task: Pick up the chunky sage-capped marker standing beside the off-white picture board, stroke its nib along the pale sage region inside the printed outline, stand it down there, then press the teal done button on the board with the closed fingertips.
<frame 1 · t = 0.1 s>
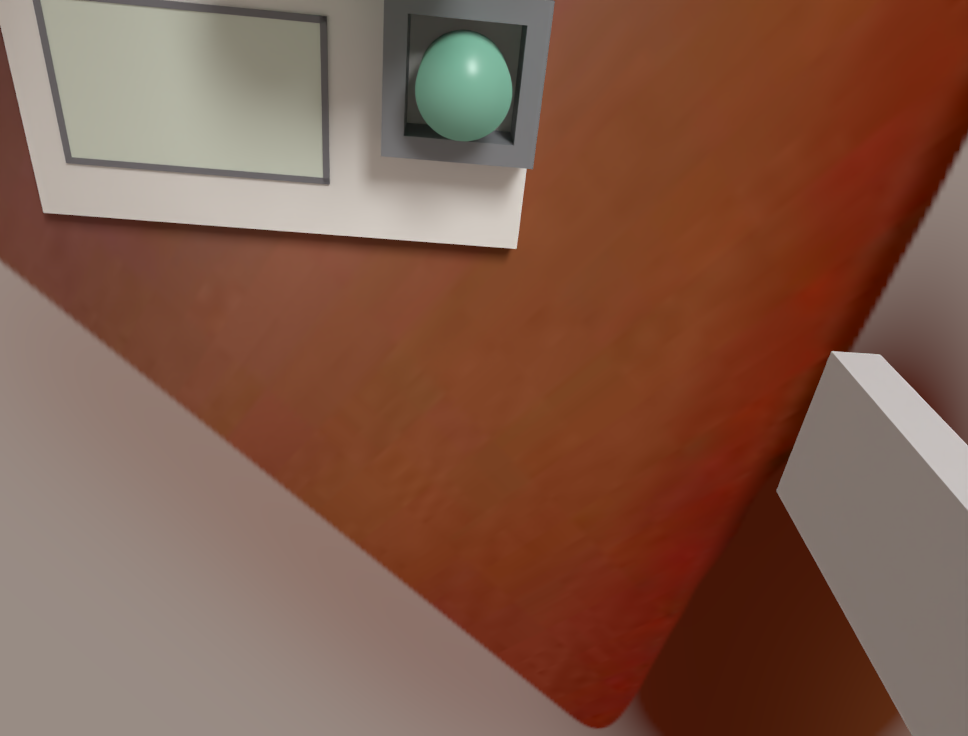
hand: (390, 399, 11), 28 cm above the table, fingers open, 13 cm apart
button: (463, 85, 31), point 4 cm above the table, slide at 0.0 cm
board: (281, 51, 34), on the table
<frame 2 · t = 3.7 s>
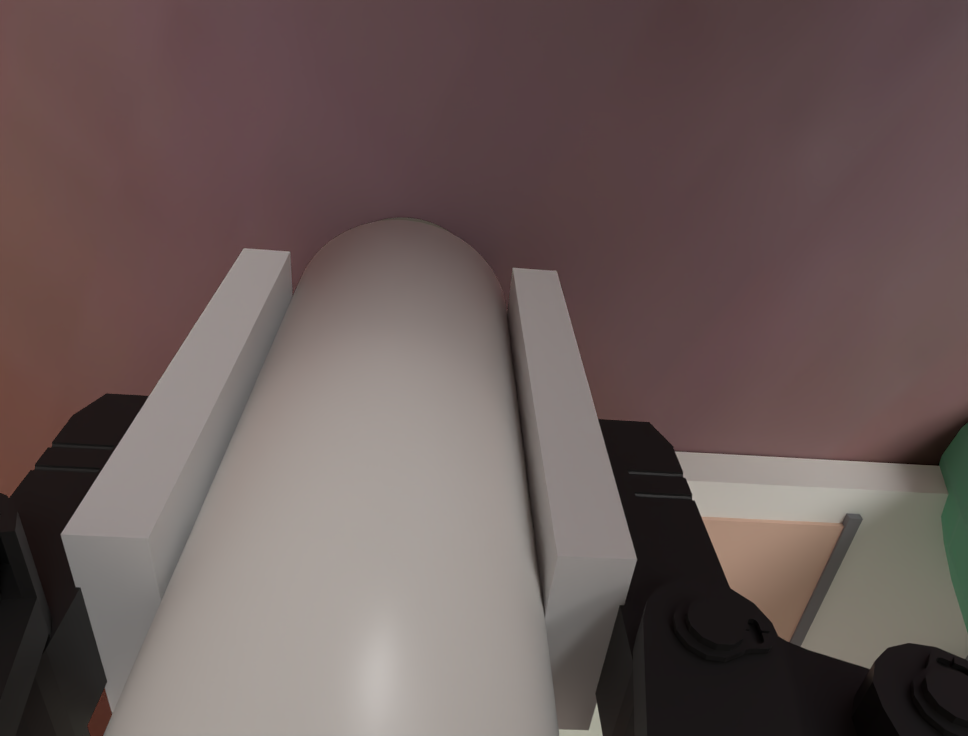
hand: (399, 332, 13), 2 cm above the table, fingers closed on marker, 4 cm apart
marker: (405, 291, 14), on the table, touching gripper
board: (736, 689, 21), on the table
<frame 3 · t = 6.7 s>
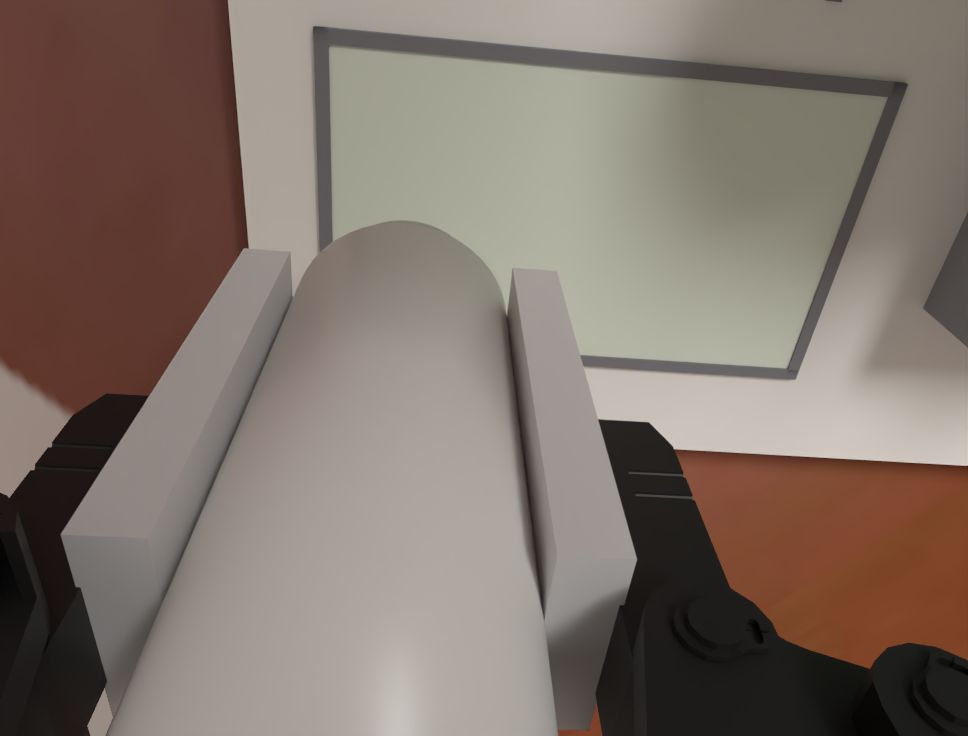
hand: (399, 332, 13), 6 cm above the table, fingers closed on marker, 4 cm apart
marker: (405, 294, 14), point 5 cm above the table, touching gripper
board: (761, 144, 17), on the table
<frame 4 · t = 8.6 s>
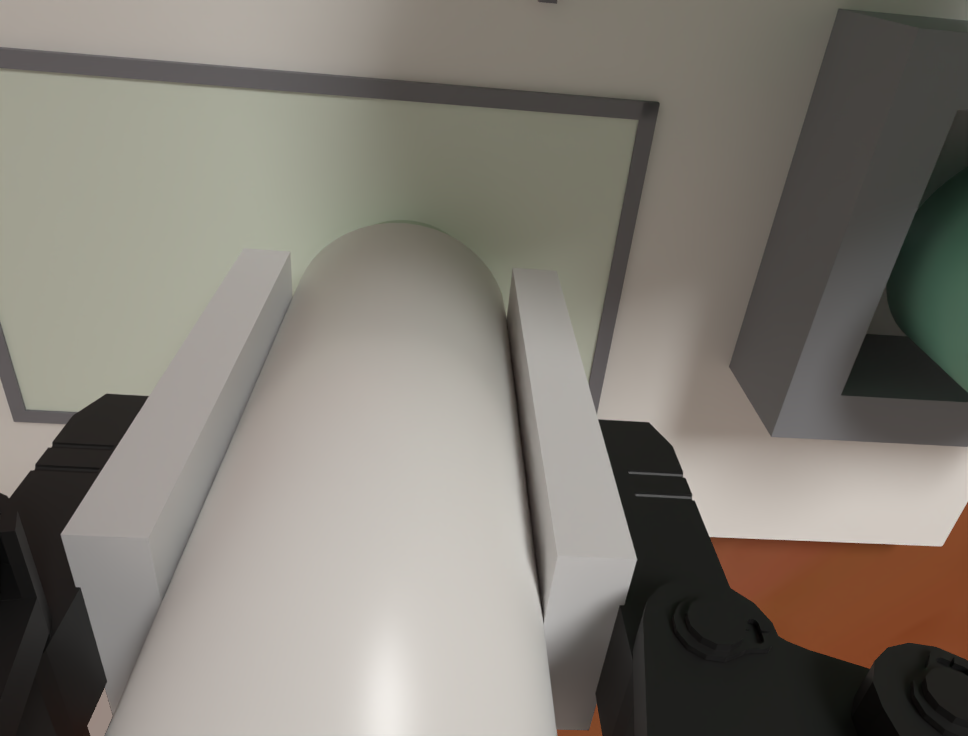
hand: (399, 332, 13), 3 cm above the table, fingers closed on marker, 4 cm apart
marker: (404, 294, 14), point 1 cm above the table, touching gripper
board: (513, 175, 14), on the table
when the fingers open (3 cm above the table, at t = 10.0 s): marker stays where it is, resting on board.
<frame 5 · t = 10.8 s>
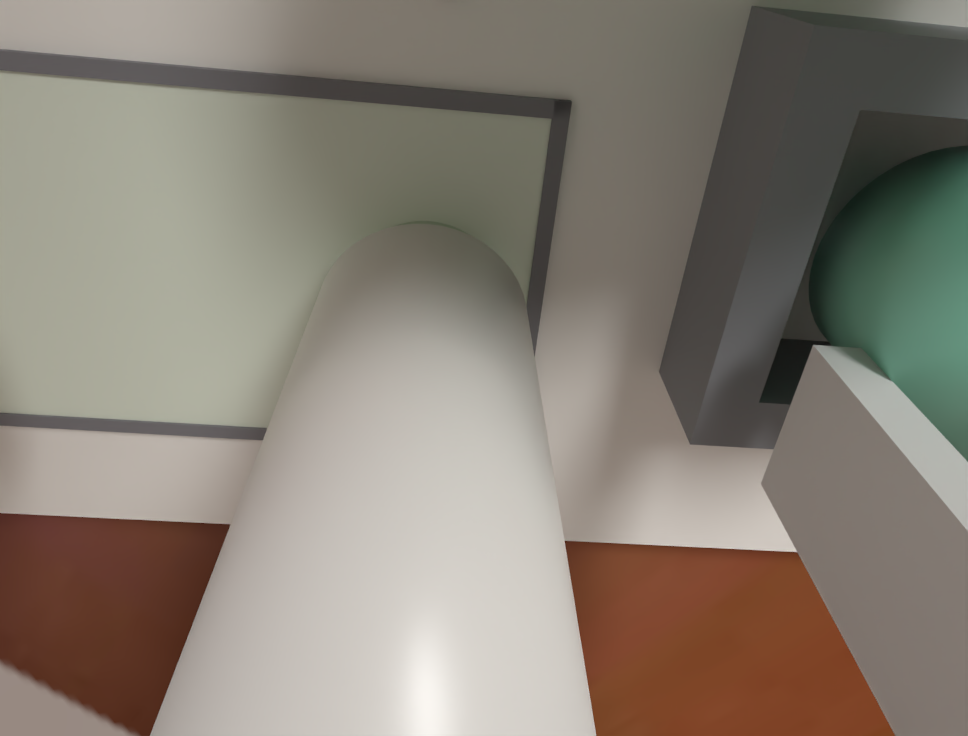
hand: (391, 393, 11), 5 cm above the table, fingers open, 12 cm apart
marker: (425, 294, 14), point 1 cm above the table, touching board
board: (433, 175, 14), on the table
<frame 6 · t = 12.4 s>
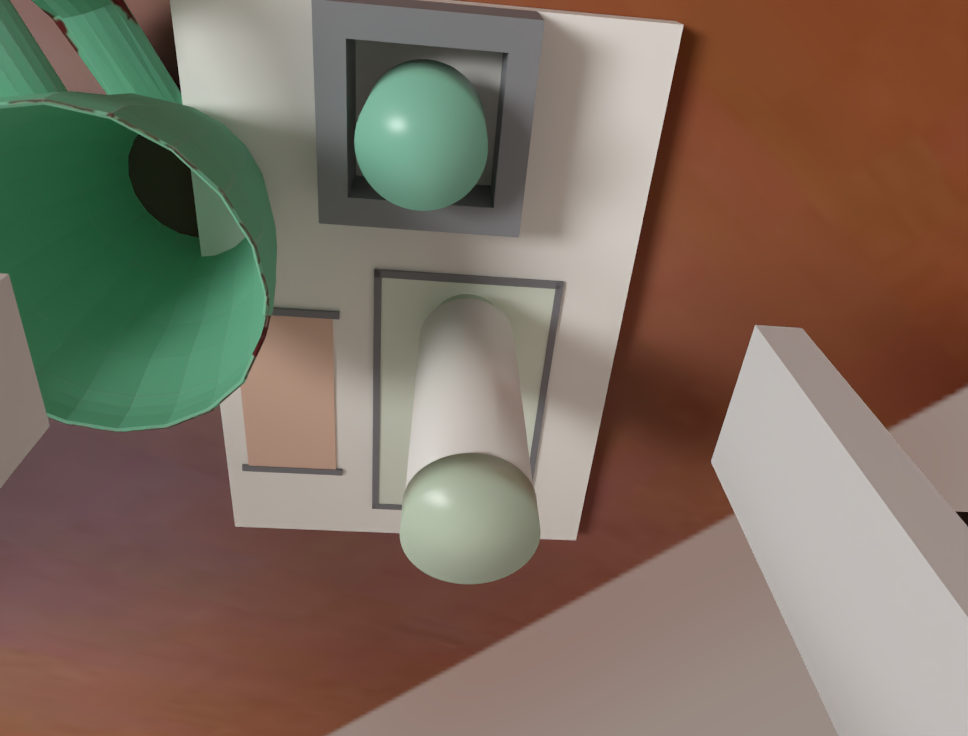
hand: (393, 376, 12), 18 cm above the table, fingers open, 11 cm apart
mug: (168, 112, 27), on the table, touching board
marker: (466, 326, 30), point 1 cm above the table, touching board
button: (423, 134, 23), point 4 cm above the table, slide at -0.2 cm
board: (418, 311, 31), on the table
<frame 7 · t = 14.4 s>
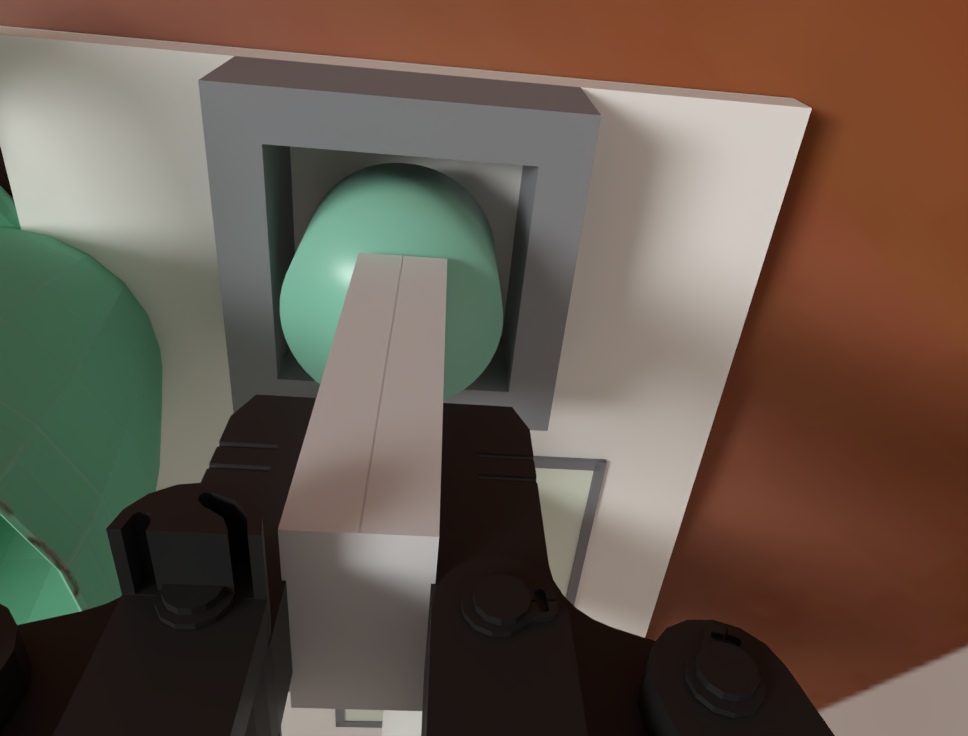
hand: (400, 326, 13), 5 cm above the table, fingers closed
mug: (12, 225, 18), on the table, touching board
marker: (464, 517, 21), point 1 cm above the table, touching board
button: (397, 284, 14), point 4 cm above the table, slide at 0.4 cm, touching gripper
board: (396, 488, 22), on the table
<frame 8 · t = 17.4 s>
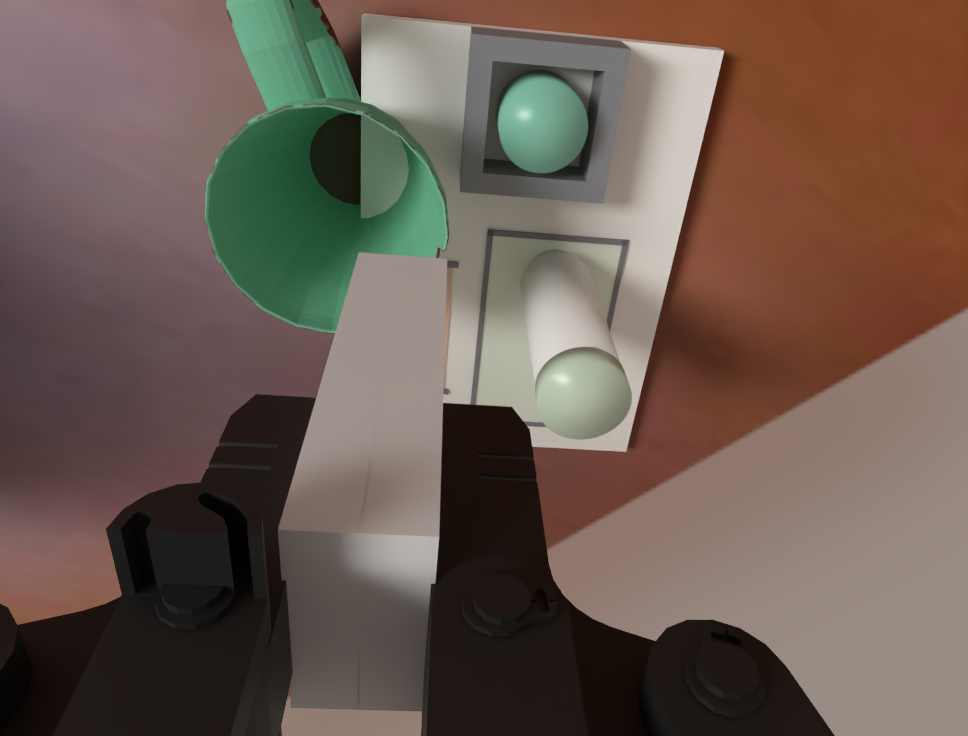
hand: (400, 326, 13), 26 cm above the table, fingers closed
mug: (342, 110, 37), on the table, touching board
marker: (553, 274, 40), point 1 cm above the table, touching board
button: (540, 121, 34), point 3 cm above the table, slide at 1.0 cm
board: (515, 263, 41), on the table
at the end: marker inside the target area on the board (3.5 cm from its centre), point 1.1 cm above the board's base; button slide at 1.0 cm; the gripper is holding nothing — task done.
